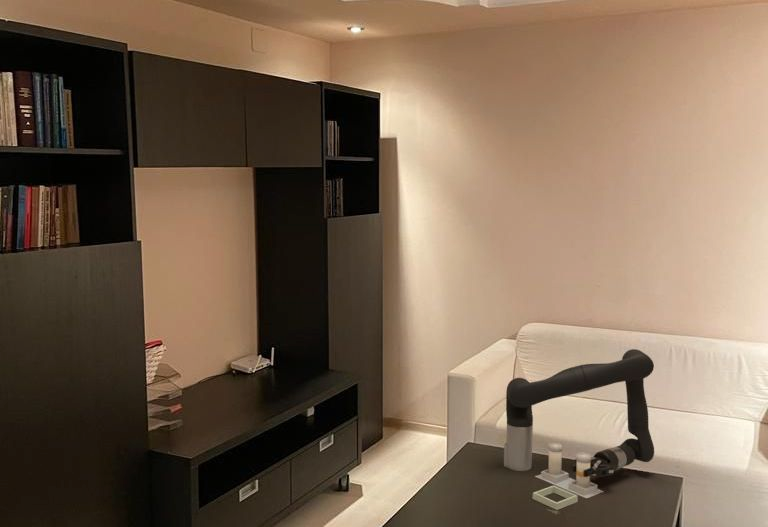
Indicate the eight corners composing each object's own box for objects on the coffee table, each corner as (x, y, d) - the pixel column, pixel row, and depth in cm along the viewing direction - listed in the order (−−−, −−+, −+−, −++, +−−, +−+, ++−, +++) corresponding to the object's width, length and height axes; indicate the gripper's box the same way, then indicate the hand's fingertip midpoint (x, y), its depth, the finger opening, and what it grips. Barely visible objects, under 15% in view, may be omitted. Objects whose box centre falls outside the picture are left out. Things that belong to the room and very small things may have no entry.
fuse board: (534, 480, 253) (535, 470, 252) (551, 474, 258) (552, 465, 258) (586, 502, 235) (586, 492, 235) (603, 495, 240) (603, 485, 240)
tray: (532, 503, 235) (532, 492, 234) (553, 495, 240) (553, 485, 240) (556, 514, 227) (557, 503, 226) (577, 506, 232) (577, 495, 232)
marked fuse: (574, 490, 241) (575, 456, 239) (577, 485, 245) (578, 451, 243) (588, 493, 239) (589, 458, 237) (591, 488, 243) (592, 453, 241)
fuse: (546, 478, 250) (546, 445, 249) (550, 474, 254) (550, 441, 253) (559, 481, 248) (560, 447, 247) (563, 476, 252) (563, 443, 251)
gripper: (593, 443, 255) (561, 453, 245) (628, 455, 243) (596, 467, 233) (592, 464, 255) (560, 475, 245) (627, 477, 244) (595, 489, 234)
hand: (578, 471), depth 239 cm, fingers closed on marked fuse, 4 cm apart
